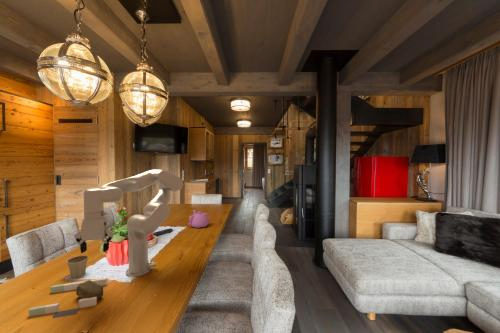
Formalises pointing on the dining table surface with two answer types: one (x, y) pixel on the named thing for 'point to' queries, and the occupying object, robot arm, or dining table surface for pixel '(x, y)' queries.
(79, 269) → the flower pot
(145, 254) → the robot arm
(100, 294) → the stone block
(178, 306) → the dining table surface
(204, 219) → the teapot
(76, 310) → the mat
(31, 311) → the set of beige bars
